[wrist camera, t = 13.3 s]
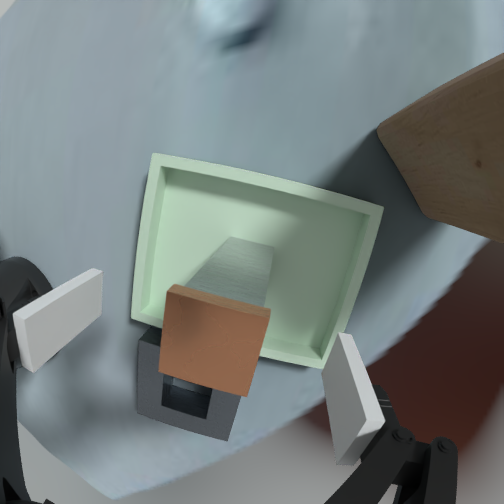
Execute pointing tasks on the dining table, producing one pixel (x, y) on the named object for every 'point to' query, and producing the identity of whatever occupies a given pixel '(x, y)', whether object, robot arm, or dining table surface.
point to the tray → (260, 231)
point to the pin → (219, 319)
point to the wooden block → (455, 150)
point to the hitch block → (180, 396)
